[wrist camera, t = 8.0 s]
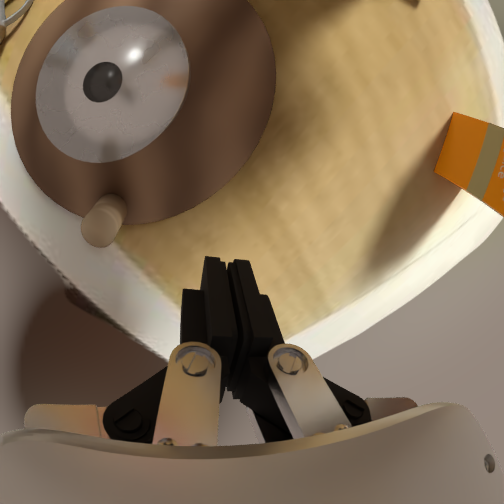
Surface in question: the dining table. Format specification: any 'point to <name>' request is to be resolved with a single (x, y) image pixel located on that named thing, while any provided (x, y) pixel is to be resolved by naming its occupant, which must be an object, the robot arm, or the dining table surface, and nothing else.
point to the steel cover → (112, 84)
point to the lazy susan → (176, 134)
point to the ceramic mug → (2, 22)
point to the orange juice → (474, 159)
